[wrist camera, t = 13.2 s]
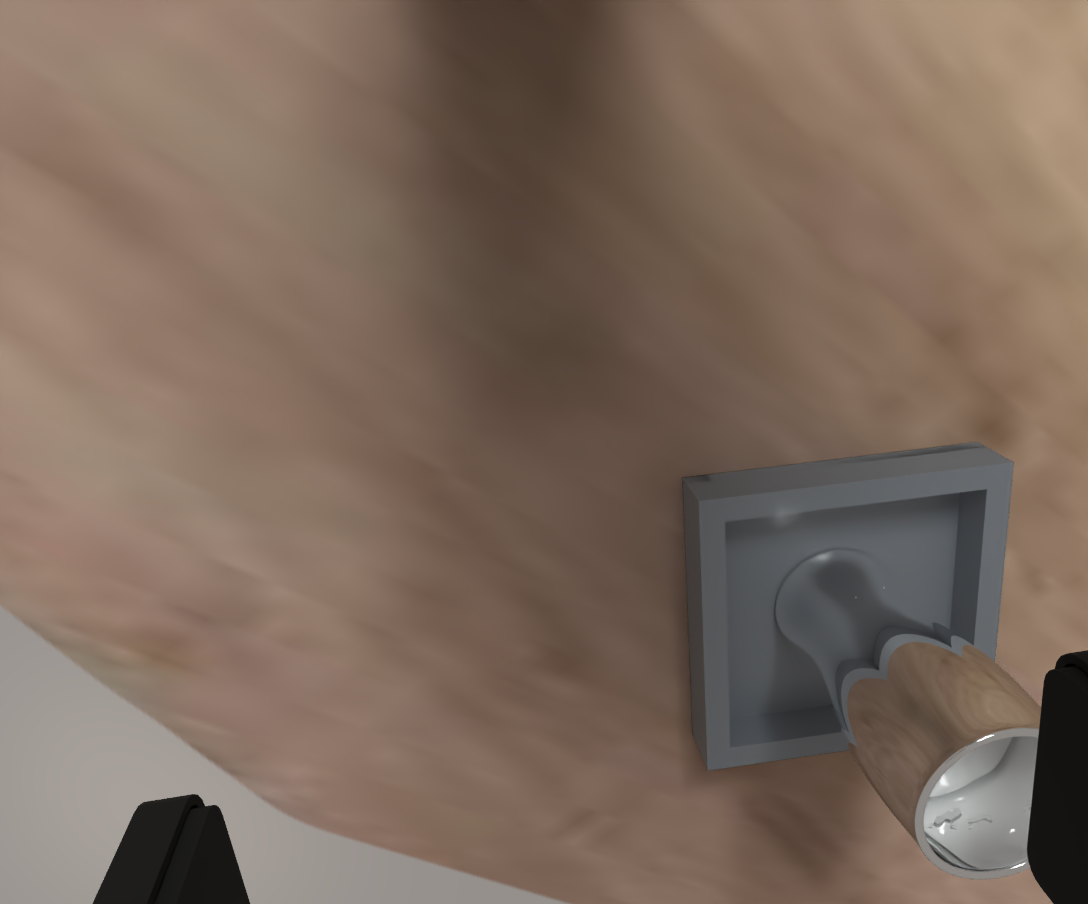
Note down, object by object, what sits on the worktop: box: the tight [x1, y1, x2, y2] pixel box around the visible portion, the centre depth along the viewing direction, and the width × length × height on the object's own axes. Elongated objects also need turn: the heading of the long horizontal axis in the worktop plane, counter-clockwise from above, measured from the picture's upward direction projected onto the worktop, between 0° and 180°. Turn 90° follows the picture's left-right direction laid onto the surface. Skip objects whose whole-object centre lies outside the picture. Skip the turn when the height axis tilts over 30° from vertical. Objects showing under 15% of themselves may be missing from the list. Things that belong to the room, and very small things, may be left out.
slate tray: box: [682, 442, 1014, 770], centre depth 45 cm, size 15×15×3 cm
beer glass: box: [775, 549, 1041, 880], centre depth 38 cm, size 7×7×15 cm
